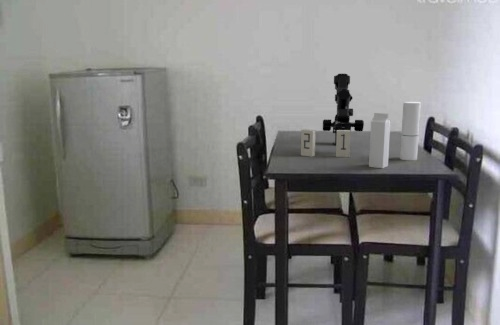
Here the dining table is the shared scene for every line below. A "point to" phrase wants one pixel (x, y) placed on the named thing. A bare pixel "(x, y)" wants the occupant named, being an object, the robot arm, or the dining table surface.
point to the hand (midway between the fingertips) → (342, 139)
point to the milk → (379, 141)
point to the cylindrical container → (410, 130)
